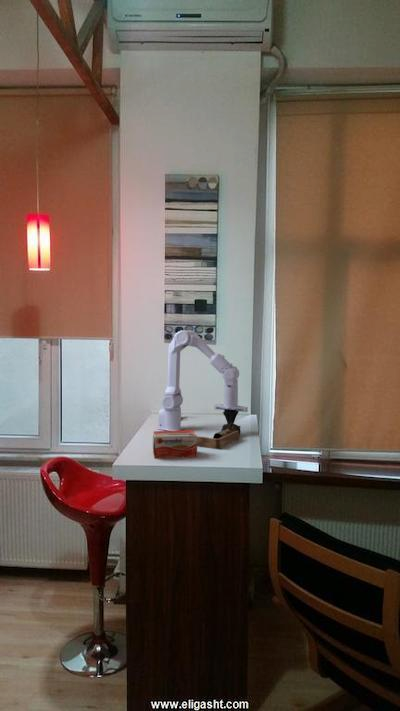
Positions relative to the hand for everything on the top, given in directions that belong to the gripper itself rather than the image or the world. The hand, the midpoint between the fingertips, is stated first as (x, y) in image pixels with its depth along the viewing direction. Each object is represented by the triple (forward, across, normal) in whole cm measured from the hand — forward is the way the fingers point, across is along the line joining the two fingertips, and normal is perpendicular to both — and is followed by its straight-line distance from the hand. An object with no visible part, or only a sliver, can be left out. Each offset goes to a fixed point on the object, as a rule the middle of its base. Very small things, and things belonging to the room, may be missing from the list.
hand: (230, 427), depth 206 cm
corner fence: (+3, +1, -16) cm, 17 cm away
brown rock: (+3, +2, -8) cm, 9 cm away
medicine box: (+3, -3, -40) cm, 40 cm away
